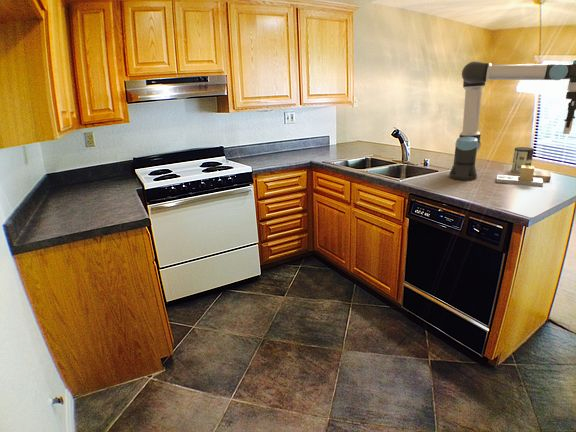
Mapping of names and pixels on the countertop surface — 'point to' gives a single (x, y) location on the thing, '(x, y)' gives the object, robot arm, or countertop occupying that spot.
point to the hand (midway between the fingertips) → (566, 132)
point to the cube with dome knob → (526, 173)
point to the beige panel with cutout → (516, 180)
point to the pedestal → (542, 175)
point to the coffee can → (522, 158)
